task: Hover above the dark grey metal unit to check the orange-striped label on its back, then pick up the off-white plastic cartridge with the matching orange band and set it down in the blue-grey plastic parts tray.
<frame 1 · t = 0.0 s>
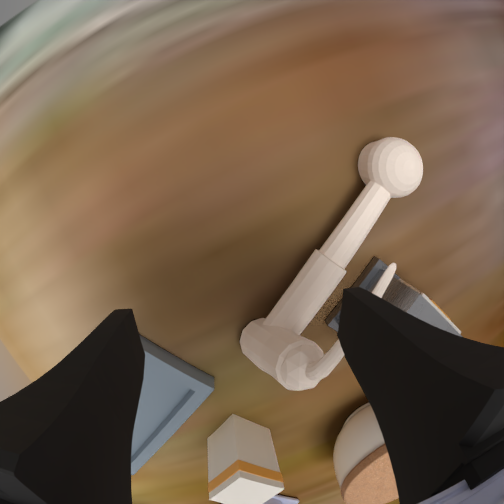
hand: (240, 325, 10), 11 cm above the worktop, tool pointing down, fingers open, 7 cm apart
unit: (385, 317, 23), on the worktop
cartridge: (238, 434, 25), on the worktop
lidded jar: (369, 420, 27), on the worktop
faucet: (322, 249, 22), on the worktop
tray: (122, 406, 23), on the worktop
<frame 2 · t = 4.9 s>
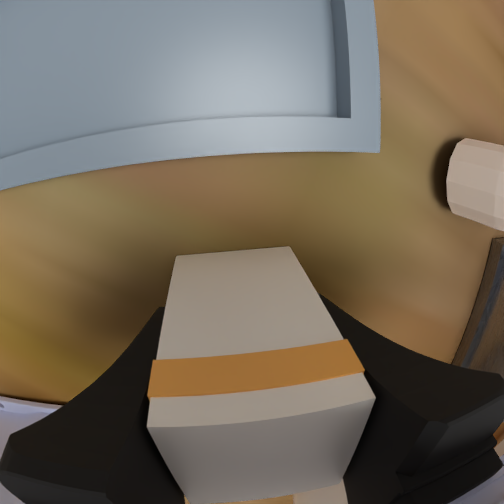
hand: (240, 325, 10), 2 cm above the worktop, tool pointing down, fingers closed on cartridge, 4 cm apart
unit: (501, 303, 15), on the worktop
cartridge: (236, 299, 12), on the worktop, touching gripper
lidded jar: (357, 425, 17), on the worktop
tray: (127, 28, 7), on the worktop
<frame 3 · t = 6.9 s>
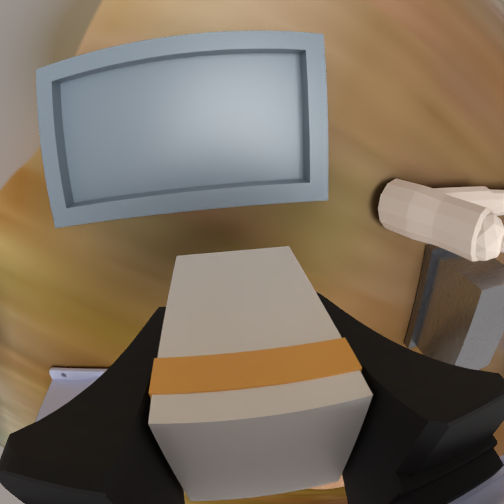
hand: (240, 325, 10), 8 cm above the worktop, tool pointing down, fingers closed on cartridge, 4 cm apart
unit: (442, 292, 22), on the worktop
cartridge: (236, 299, 12), point 7 cm above the worktop, touching gripper
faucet: (467, 195, 20), on the worktop
tray: (178, 122, 15), on the worktop
when the fingers open (3 cm above the worktop, at t = 8.9 s): cartridge stays where it is, resting on tray.
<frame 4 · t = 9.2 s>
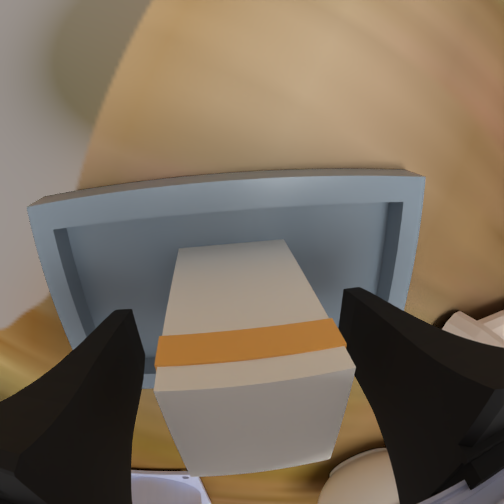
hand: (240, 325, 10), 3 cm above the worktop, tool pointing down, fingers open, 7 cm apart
cartridge: (234, 289, 13), resting on tray
lidded jar: (359, 463, 23), on the worktop
tray: (233, 282, 13), on the worktop
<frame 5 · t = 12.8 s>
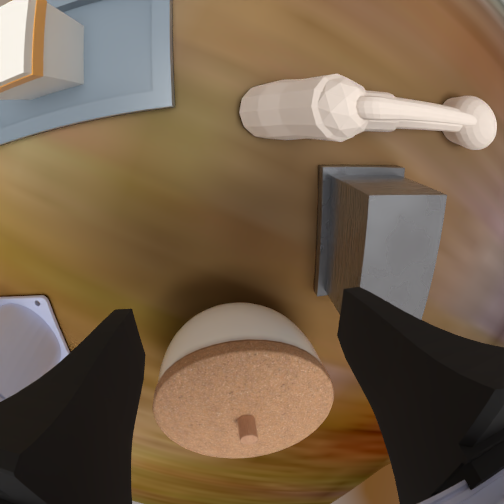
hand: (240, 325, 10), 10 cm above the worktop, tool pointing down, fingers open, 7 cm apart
unit: (357, 229, 21), on the worktop
cartridge: (55, 62, 14), resting on tray
lidded jar: (234, 335, 24), on the worktop
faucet: (375, 111, 18), on the worktop
tray: (58, 61, 14), on the worktop
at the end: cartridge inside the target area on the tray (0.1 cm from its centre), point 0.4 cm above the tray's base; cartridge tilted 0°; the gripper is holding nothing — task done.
